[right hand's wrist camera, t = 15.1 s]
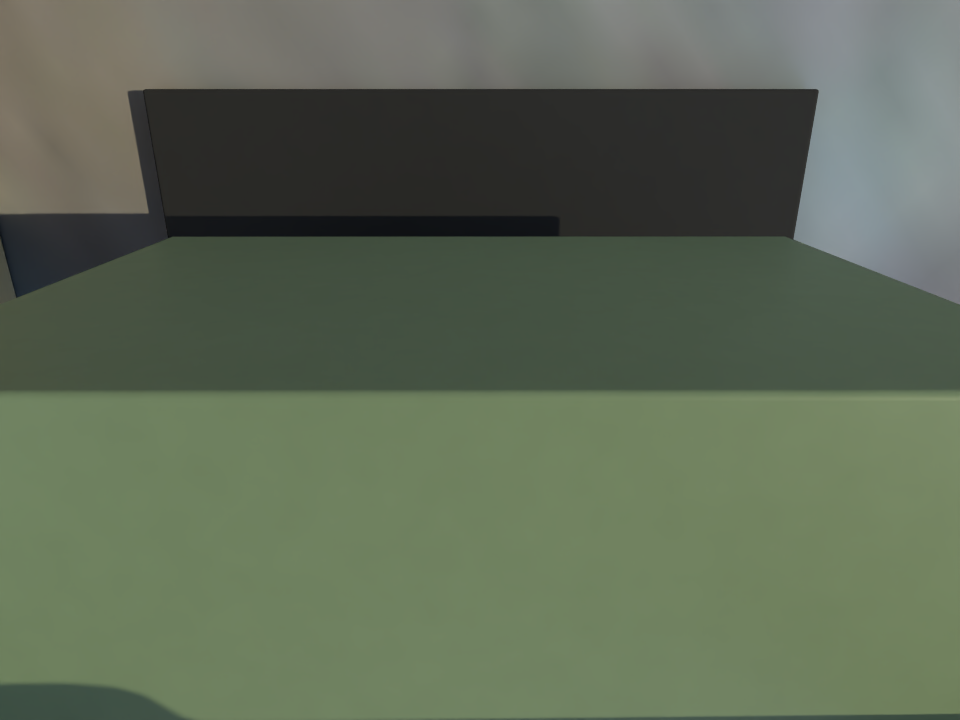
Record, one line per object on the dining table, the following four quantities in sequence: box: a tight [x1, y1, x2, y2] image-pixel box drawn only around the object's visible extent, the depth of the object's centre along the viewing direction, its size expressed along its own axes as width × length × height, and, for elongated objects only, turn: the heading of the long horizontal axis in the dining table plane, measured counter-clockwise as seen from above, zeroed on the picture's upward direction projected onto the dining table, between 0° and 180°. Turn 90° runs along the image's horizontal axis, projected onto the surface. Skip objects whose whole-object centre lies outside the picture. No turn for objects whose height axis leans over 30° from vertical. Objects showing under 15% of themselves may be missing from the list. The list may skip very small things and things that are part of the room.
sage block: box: [0, 237, 960, 720], centre depth 10 cm, size 9×11×7 cm
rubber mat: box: [143, 89, 818, 239], centre depth 16 cm, size 14×14×1 cm
